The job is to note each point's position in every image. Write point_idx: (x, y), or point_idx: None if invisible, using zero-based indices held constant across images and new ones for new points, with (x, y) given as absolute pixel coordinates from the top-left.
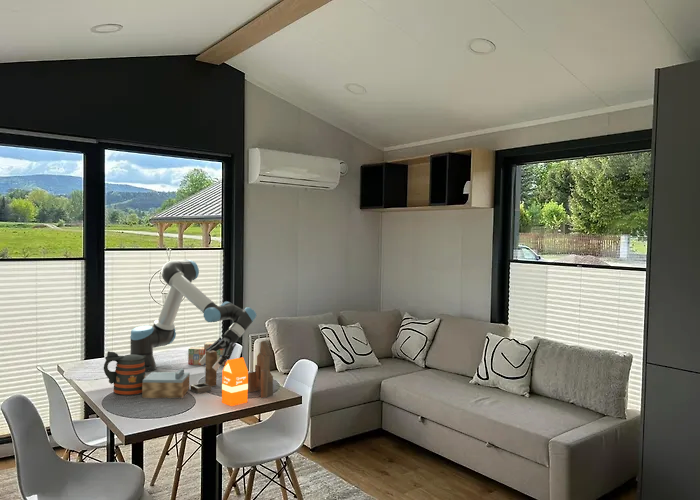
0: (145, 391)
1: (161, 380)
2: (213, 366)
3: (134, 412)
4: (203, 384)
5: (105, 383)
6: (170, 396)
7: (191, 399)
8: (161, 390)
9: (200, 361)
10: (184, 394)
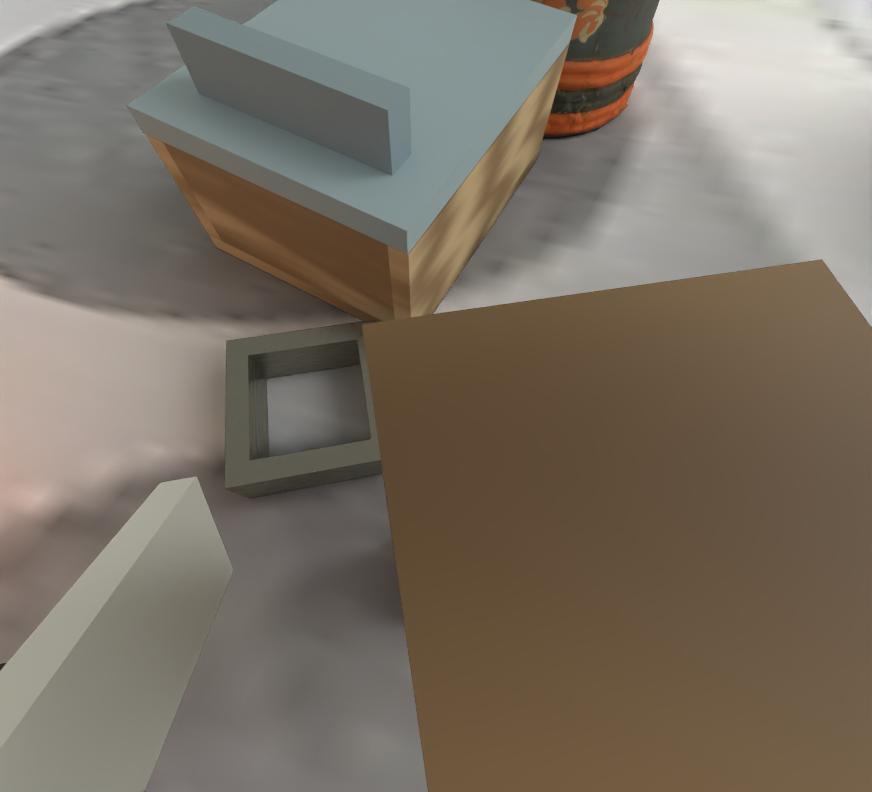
0: None
1: (268, 14)
2: (153, 499)
3: (145, 36)
4: (364, 444)
5: (736, 36)
6: None
7: (132, 287)
8: None
9: None
10: (275, 274)
